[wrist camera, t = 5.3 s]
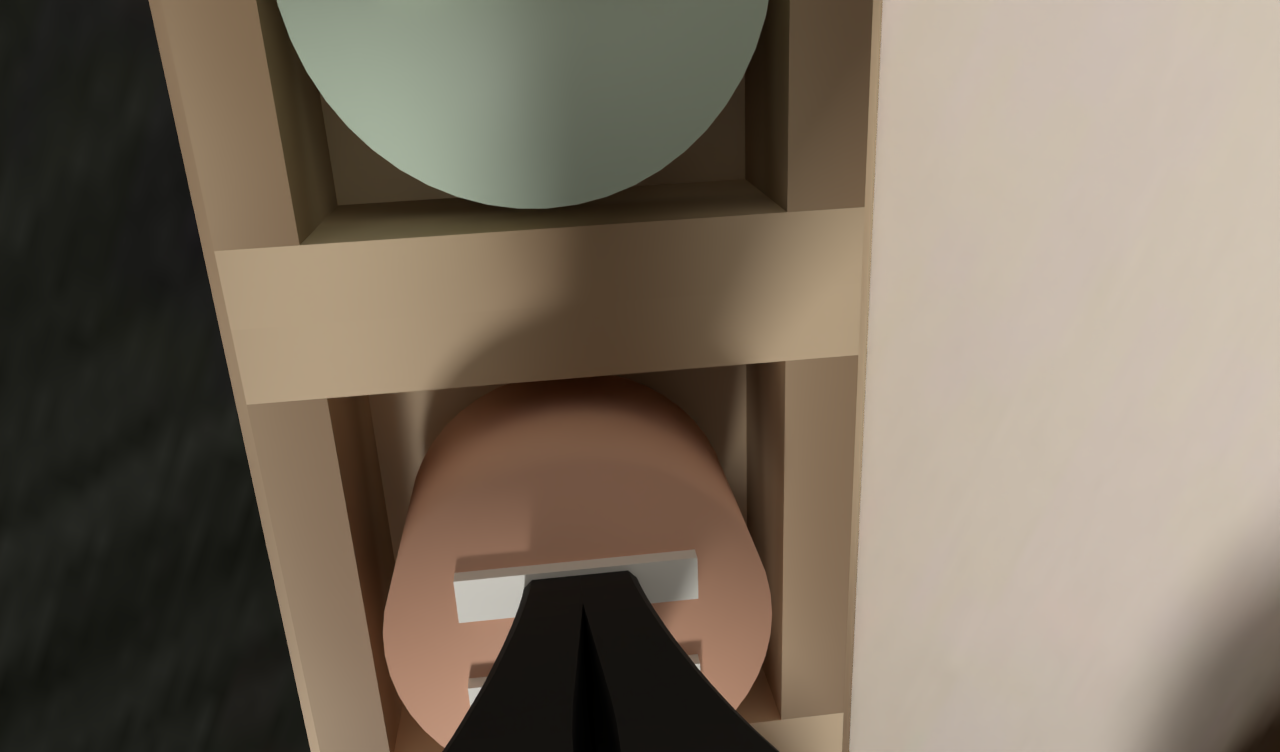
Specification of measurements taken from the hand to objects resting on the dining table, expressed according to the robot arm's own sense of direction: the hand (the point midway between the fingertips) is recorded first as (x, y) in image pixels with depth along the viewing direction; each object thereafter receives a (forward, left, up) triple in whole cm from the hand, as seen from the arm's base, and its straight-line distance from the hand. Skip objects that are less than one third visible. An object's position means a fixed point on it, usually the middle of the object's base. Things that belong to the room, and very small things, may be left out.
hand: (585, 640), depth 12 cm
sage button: (0, +8, -3) cm, 9 cm away
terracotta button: (0, 0, -3) cm, 3 cm away
